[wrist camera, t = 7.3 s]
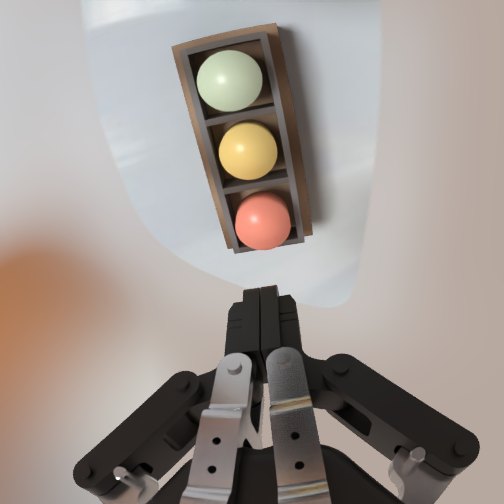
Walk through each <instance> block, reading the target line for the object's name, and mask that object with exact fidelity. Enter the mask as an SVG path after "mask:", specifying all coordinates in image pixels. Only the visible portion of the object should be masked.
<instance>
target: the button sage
mask: <svg viewBox="0 0 504 504" xmlns="http://www.w3.org/2000/svg"><path fill="white" fill-rule="evenodd" d="M197 87H198V91H199V93H200V95H201V97H202V98H203V100H204V101H205V102H206V103H207V104H209V105H210V106H211V107H213V108H215V109H218V110H221V111H237V110H241V109H243V108H245V107H247V106H249V105H250V104H251V103H252V102H254V101H255V99H256V98H257V97H258V95H259V93H260V91H261V88H262V73H261V70H260V68H259V66H258V64H257V63H256V61H255V60H254V59H253V58H251V57H250V56H249V55H247V54H245V53H242V52H239V51H233V50H226V51H221V52H218V53H216V54H214V55H212V56H210V57H209V58H208V59H207V60H206V61H205V62H204V63H203V64H202V66H201V67H200V69H199V72H198V76H197Z"/></svg>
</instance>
